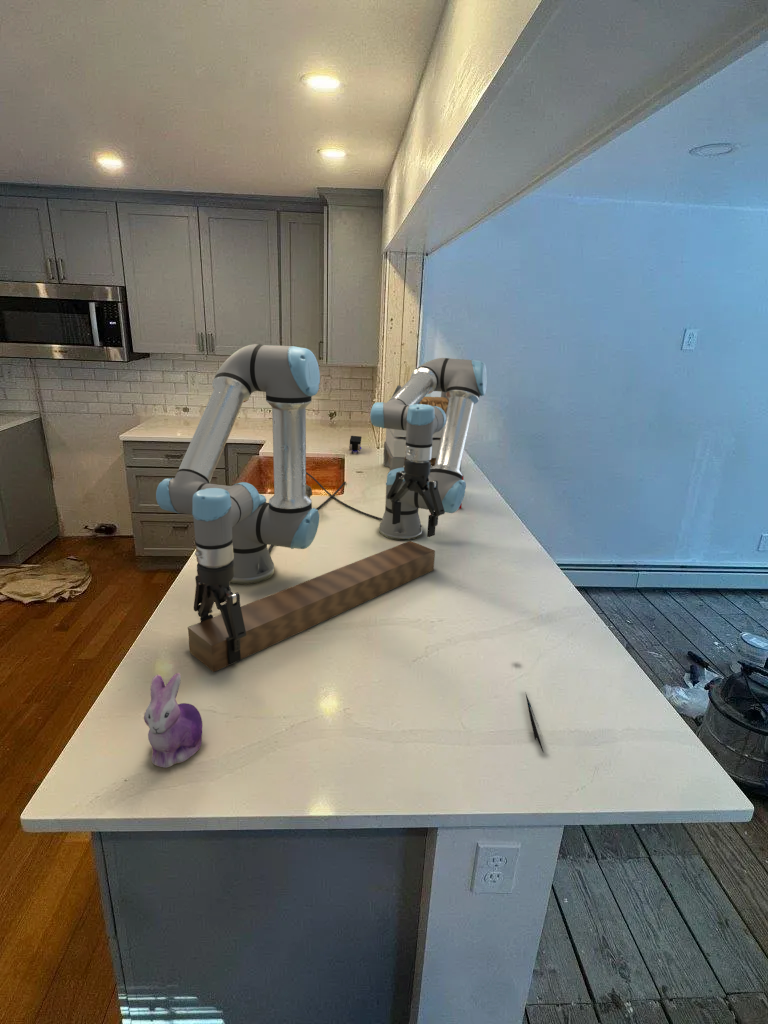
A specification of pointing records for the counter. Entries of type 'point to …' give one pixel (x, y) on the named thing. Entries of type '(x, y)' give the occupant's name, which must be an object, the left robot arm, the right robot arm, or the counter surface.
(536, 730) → the feather
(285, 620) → the wide beam
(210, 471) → the left robot arm
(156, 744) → the figurine
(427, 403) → the grey slatted crate
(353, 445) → the figurine character
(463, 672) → the counter surface
